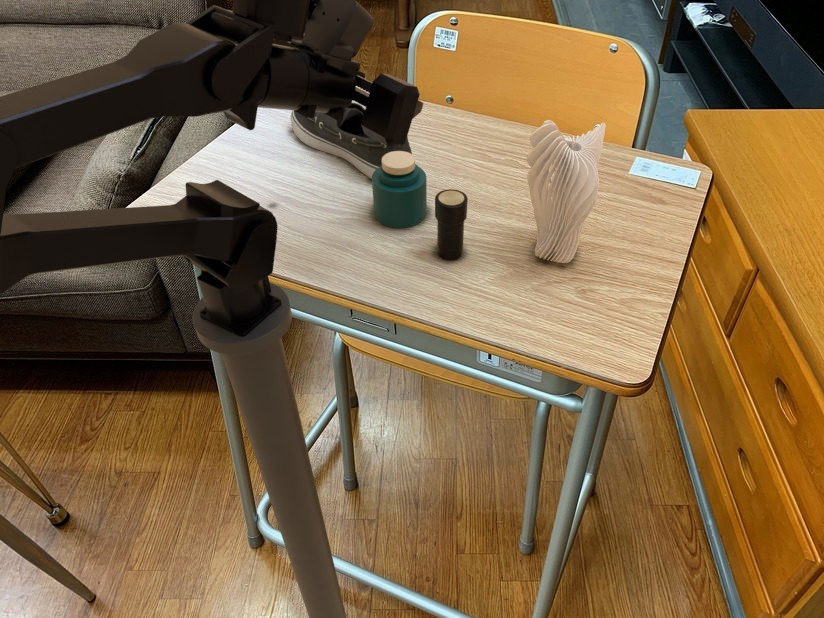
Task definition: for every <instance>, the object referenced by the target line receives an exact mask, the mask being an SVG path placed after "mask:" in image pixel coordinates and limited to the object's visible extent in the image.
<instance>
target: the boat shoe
mask: <svg viewBox="0 0 824 618" xmlns="http://www.w3.org/2000/svg"><path fill="white" fill-rule="evenodd" d="M365 109H366V108H364V106H363V105H361V104H359V103H357V102H352V103H351V104H350V106H349V107H348V108H346V109H345V113H344V117H343V120H335V119H333V118H332V117H330V116H328V115H326V114H324V113H320V112H315V116H314V118H306V117H304V116H302V115H301V114H299V113H297V112H295V111H294V110H291V112H290V123H291V128H292V130H293V132H294V134H295V135H296V137H297V138H298V139H299V140H300V141H301V142H302V143H304V144H305V145H307V146H309V147H310V148H313V149H314V150H315V149H316V150H318V151H321V152H324V153H327V154H330V155H334V156H336V157H339V158H341V159H344V160H345V161H347V162H349V164H351V165H352V166H354V167H355V168H356V169H358V170H359V171H360V172H361V173H363V174H364V175H365V176H366V177H367V178H369V179H371V180H372V174H373V173H374V171H375V170H376V169H378V168H379V167H380V166H381V165H382V157H383V156H384V155H385V154H387V153H389V152H393V151H404V152H408V153H410V154H412V155H413V152H412V148H411V146H410V141H409V137H408V135H409V134H408V135H407V139H406V142H405V144H404V145H402V146H400V147H388V146H386V145H384V144H382V143H381V142H379V141H377V140H375V139H373V138H371V137H370V136H368V135H366V134H365V133H364V131H363V128H362V126H361V124H362V120H363V116H364V112H365Z"/></svg>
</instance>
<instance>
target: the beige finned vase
mask: <svg viewBox="0 0 824 618" xmlns="http://www.w3.org/2000/svg"><path fill="white" fill-rule="evenodd" d="M606 125H607V124H606V122H601V123H600V125H599V126H595V127H594V128H593V130H588V131H587V133H582V134H581V136H580V135H576V139H575V135H572V137H571V136H570V135H567V136H566V135H564V134H562V132H561V130H560V128H559V126H557V124H556V123H555V122H554V121H552V120H550V119H545V120H544V121H543V123H542V125H541V126H540V127H538V128H536V129H535V130H534V132H533V133H532V134H531V135H530V137H529V142H530V144H531V146H532V148H533V149H532V150H531V151H530V152H529V153H528V155H527V156H526V162H527V164H528V165H529V166H530V169H529V171H528V172H527V175H526V178H527V183H528V187H529V197H530V201H531V206H532V208H533V214H534V219H535V225H536V230H537V231H536V232H537V236H536V244H535V248H534V255H535V256H536V257H538V258H539V259H543V260H546V261H550V262H553V263H555V262H556V263H560V264H568V263H569V262H571V261H572V260H573V259H574V257H575V255H576V252H577V249H578V248H579V244H580V240H581V236H582V233H583V229H584V226H585V221H587V219H588V217H589V215H590V214H591V212H592V211H593V210H594V207H595V205H596V202H597V198H598V193H599V188H600V181H599V180H600V179H599V178H600V177H599V164H600V161H601V156H602V151H603V146H604V140H605V134H606V133H605V132H606V127H607V126H606Z"/></svg>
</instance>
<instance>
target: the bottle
mask: <svg viewBox="0 0 824 618" xmlns="http://www.w3.org/2000/svg"><path fill="white" fill-rule="evenodd" d="M371 188H372V199H373V201H372V202H373V211H374V212H373V213H374V214H373V215H374V217H375V219H376V221H377V222H379V223H380V224H382V225H383V226H386V227H389V228H395V229H404V228H410V227H414V226H416V225H418V224H420V223H422V222H423V221H424V219H426V217H427V213H428V211H427V210H428V207H427V205H428V203H427V200H428V199H427V198H428V196H427V195H428V193H427V192H428V191H427V174H426V172H425V170H424V169H422V168H421V167H420V166H418V164H417V163H416V158H415V156H414V155H413V153H412V154H410V153H408V152H404V151H393V152H389V153H387V154H385V155H384V156H383V157H382V165H381V166H380V167H379V168H378V169H376V170H375V171H374V173H373V174H372V179H371Z"/></svg>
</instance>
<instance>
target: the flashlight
mask: <svg viewBox="0 0 824 618" xmlns="http://www.w3.org/2000/svg"><path fill="white" fill-rule="evenodd" d="M468 199H469V198H468V196H467V194H466V193H465V192H463V191H461V190H459V189H452V188H451V189H443V190H441V191H439V192H438V193H436V195H435V197H434V217H435V219H436V221H437V225H436V227H437V228H436V229H437V230H436V233H437V237H436V239H437V242H436V243H437V252H436V253H437V256H438V257H439V258H441V259H442V260H445V261H455V260H459V259H460V258H462V256H463V254H464V234H465V221H466V220H467V217H468V201H469V200H468Z"/></svg>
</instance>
